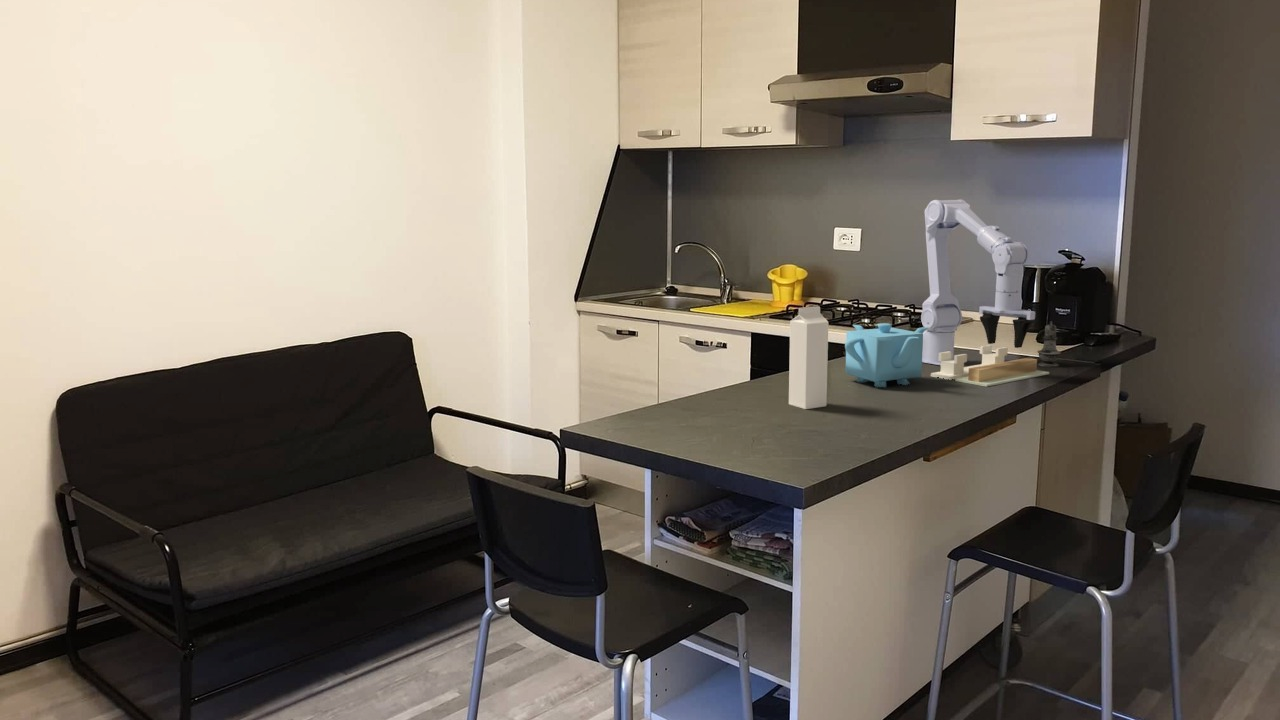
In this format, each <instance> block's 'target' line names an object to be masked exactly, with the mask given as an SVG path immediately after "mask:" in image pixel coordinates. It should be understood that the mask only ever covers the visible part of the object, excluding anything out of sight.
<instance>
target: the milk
mask: <svg viewBox="0 0 1280 720" xmlns="http://www.w3.org/2000/svg"><path fill="white" fill-rule="evenodd" d="M828 351H829V321H828V320H827V319H826V318H825V316H823V314H822V313H821V307H820V305H819V306H810V307H809V306H807V307H799V308H798V314H797V316H795V317H794V318H792V319H791V320H789V361H788V362H789V368H788V369H789V371H788V372H789V373H788V374H789V375H788V382H789V383H788V405H789V406H793V407H796V408H800V409H802V410H810V409H816V408H823V407H827V399H828V398H827V397H828V396H827V394H828V393H827V392H828V356H829V355H828Z"/></svg>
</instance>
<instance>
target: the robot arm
mask: <svg viewBox="0 0 1280 720" xmlns="http://www.w3.org/2000/svg"><path fill="white" fill-rule="evenodd" d="M924 221H925V222H924V223H925V241H926V257H927V268H928V269H927V270H928V281H929V282H928V284H929V296H928V297H927V299H925V300H924V301H923V303H922V305H921V306H922V311H921V315H920V320H921V323H922V327H929V328H928V329H927V330H925V331H924V332H923V352H922V363H924V364H930V365H931V364H932V365H937V366H941V361H938V357H939V353H941V352H948V351H950V352H951V359H952V360H954V355H955V354H954V351H955V332H956V331H958V327H960V325H961V323H962V321H963V313H962V310H961V308H960V303H959V302H960V301H959V300H958V299H957V297H955V296H954V295H953V294H952V289H951V287H952V286H951V278H950V277H951V276H950V275H951V274H950V264H949V263H950V262H949V250H948V247H949V246H948V236H949V235H950V233H951V232H953V231H954V230H955V229H957V228H958V227H959V226H963V227H964V228H965V229H967V230H968V231H970V232H971V233H972V234H973V235H975V236H976V242H977V243H978V245H980V246H981V247H982V248H983V249H984V250H985V251H986V252H988V253H989V254H990V255H991V258H992V261H993V263H994V271H995V273H996V280H995V281H996V282H995V296H994V298H995V300H994V306H991V305H990V306H988V305H981V306H979V313H978V314H979V315H981V316H979V321H980V322H981V324H982V326H983V328H984V331H985V335H986V336H985V337H986V338H987V345H992V344H996V340H997V329H998V324H999V321H1000V317H1004V318H1005V317H1006V318H1015V319H1012V325H1013V328H1014V329H1013V330H1014V340H1013V341H1014V344H1013V345H1014V348H1016V349H1018V348H1019V349H1020V348H1023V344H1024V341H1025V337H1026V336H1027V334H1028V331H1029V330H1030V328H1031V326H1032V325H1033V323H1034V320H1035V318H1036V311H1033V310H1027V309H1022V308H1021V309H1020V303H1021V302H1020V298H1021V284H1022V272H1023V271H1022V269H1023V268H1022V267H1023V265H1024V264H1025V263H1026V261H1028V257H1029V251H1028V248H1027V246H1026V245H1025V244H1024V243H1023V242H1021V241H1017V242H1016V241H1013V240H1012V238H1011V237H1010V236H1007V235H1006V234H1005V233H1003V232H1002V231H1001V227H999V226H998V225H987V224H986V223H985V222H984V221H983V220H982V219H981V218H980V217H979V216H978V215H977V214H976V213H975V212H974V211H973V210H972V209H971V205H970V204H969V203H967V202H966V201H965V200H964V199H948V200H947V199H945V200H944V199H943V200H942V199H941V200H939V199H934V200H931V201H930V202H929V203H928V204H927V206H926V208H924Z"/></svg>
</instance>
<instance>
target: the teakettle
mask: <svg viewBox="0 0 1280 720" xmlns="http://www.w3.org/2000/svg"><path fill="white" fill-rule="evenodd" d="M892 325H893V324H892V323H887V322H885V323H877V326H878V327H877V328H869V329H865V328H864V327H863V326H862V325H859V324H852V327H854V329H855V330H847V331H846V335H845V336H846V338H845V339H846V340H845V341H846V342H844V343H845V344H844V349H845V375H849V376H852V377H856V378H857V379H856V381H855V382H857V383H868V382H873V383H874V384H873V387H874V386H875V387H874V388H878V387H884V388H887V381H895V380H896V383H897V384H898V385H900V384H902V385H903V386H909V385H911V384H910V381H909V380H908V379H915V378H922V372H923V370H922V369H923V362H922V352H923V332H924V331H925V330H927V329H928V328H929V327H924V326H922V327H918V328H916V330H915V331H912V330H906V329H901V328H895V327H892ZM908 384H909V385H908ZM902 385H901V386H902Z"/></svg>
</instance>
